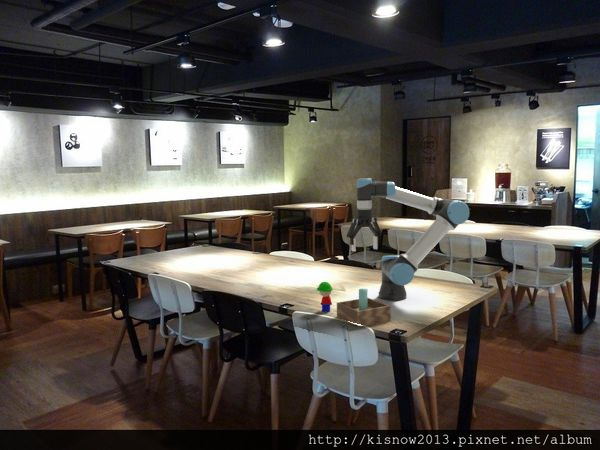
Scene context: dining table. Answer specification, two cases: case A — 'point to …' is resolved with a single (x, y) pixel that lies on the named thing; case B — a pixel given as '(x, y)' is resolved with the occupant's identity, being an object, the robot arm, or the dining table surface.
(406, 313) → the dining table surface
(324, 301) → the toy
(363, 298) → the peg
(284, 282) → the dining table surface
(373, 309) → the caddy
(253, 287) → the dining table surface
